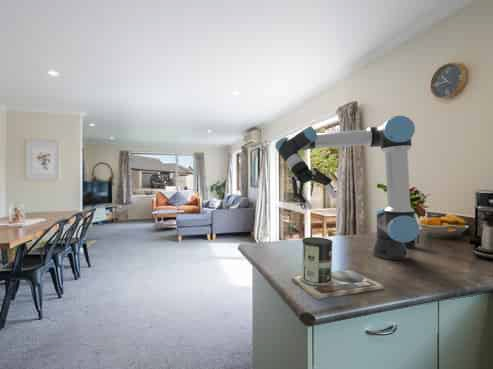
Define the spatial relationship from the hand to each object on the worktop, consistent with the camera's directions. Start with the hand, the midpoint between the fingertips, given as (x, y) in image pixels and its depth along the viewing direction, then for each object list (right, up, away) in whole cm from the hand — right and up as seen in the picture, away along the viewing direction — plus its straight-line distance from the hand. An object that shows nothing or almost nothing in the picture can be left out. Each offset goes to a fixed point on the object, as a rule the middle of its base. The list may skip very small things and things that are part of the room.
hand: (323, 202), depth 113 cm
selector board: (-2, -27, -22) cm, 35 cm away
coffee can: (-9, -26, -21) cm, 35 cm away
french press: (+57, -27, +34) cm, 72 cm away
